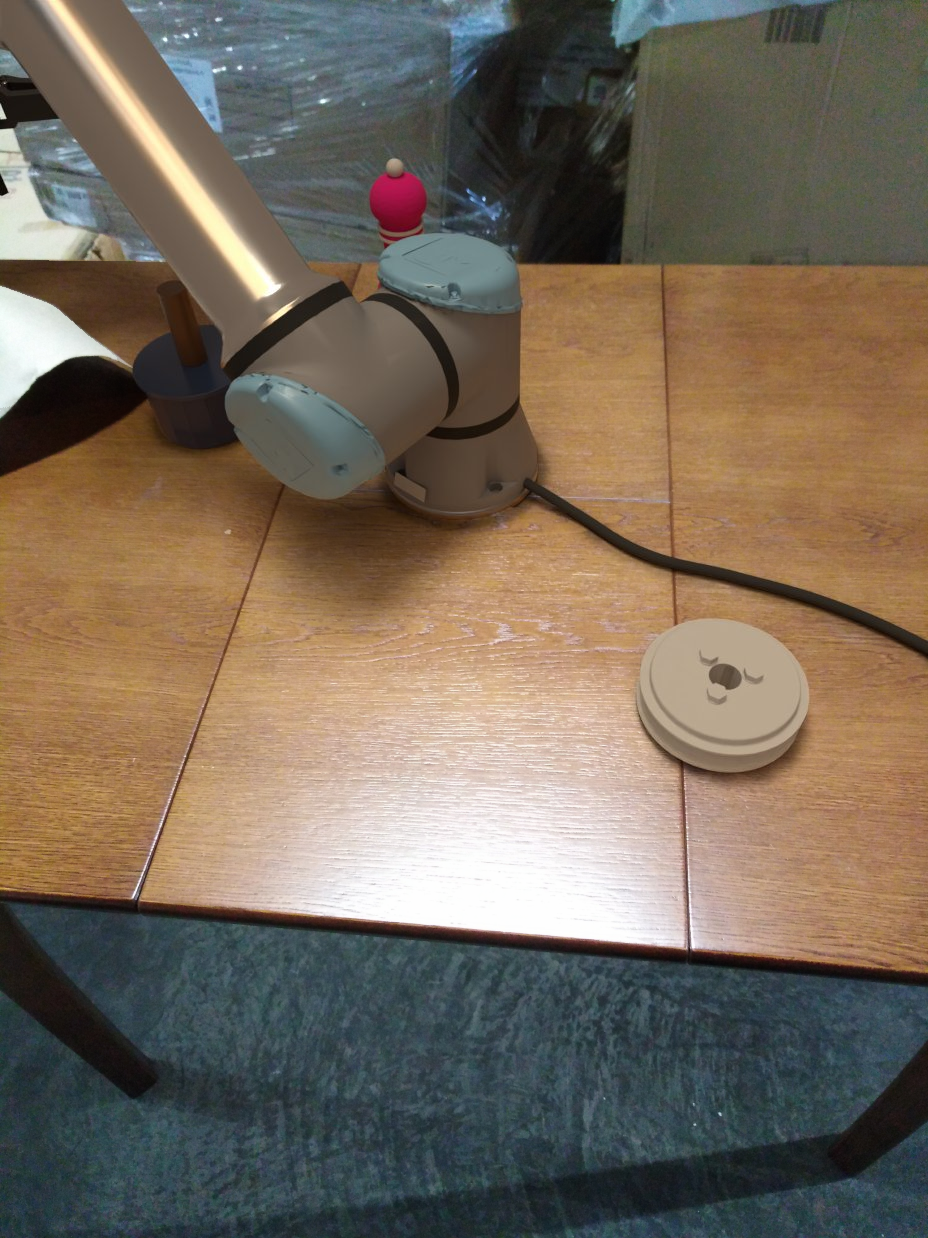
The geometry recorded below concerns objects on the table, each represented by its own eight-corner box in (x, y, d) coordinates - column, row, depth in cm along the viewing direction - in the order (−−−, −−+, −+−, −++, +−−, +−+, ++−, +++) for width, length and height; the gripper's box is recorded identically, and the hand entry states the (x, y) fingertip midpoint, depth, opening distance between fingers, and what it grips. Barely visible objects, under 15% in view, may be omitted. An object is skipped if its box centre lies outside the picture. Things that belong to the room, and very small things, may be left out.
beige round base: (670, 623, 77) (679, 585, 73) (818, 681, 72) (835, 644, 68) (608, 735, 70) (614, 699, 66) (767, 806, 65) (783, 772, 62)
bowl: (280, 389, 100) (268, 338, 95) (239, 455, 93) (223, 404, 88) (188, 377, 102) (171, 326, 97) (140, 441, 95) (120, 390, 90)
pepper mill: (371, 344, 104) (345, 170, 89) (396, 311, 109) (377, 139, 93) (427, 356, 103) (411, 179, 87) (451, 321, 107) (440, 147, 91)
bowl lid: (276, 340, 95) (257, 259, 88) (227, 414, 88) (202, 331, 81) (170, 327, 98) (142, 248, 91) (113, 398, 90) (79, 317, 83)
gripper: (39, 97, 98) (173, 138, 90) (-170, 191, 86) (-37, 248, 78) (10, 18, 93) (150, 54, 84) (-219, 107, 80) (-81, 160, 72)
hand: (61, 148), depth 81 cm, fingers open, 13 cm apart
